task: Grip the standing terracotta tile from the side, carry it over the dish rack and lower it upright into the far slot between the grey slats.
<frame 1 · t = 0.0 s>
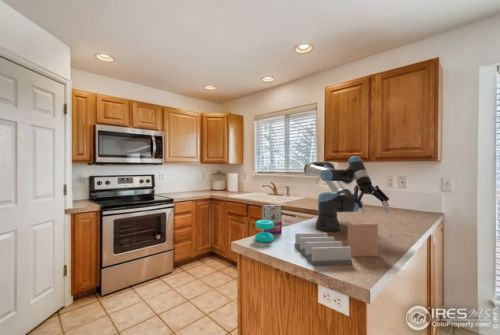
hand: (376, 213, 125), 15 cm above the table, tool tilted 35°, fingers open, 13 cm apart
terracotta tile: (362, 254, 106), on the table
candy bar box: (271, 233, 141), on the table
dish rack: (320, 254, 106), on the table
donuts: (264, 240, 126), on the table
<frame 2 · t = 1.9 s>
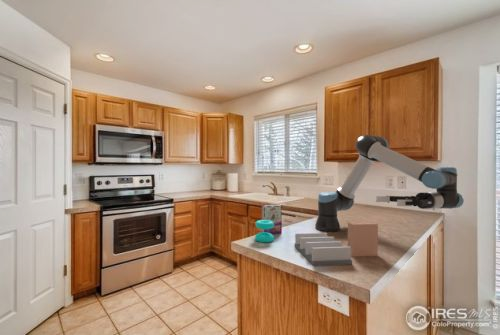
hand: (386, 200, 108), 24 cm above the table, tool horizontal, fingers open, 13 cm apart
nothing on the table moved.
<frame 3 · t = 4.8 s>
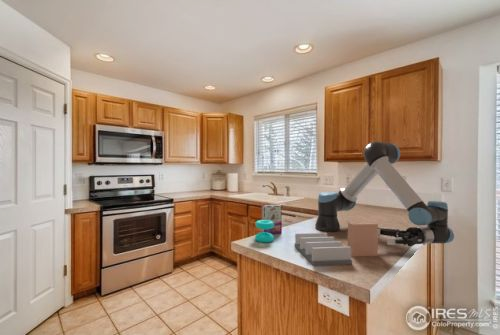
hand: (376, 236, 107), 8 cm above the table, tool horizontal, fingers open, 13 cm apart
nothing on the table moved.
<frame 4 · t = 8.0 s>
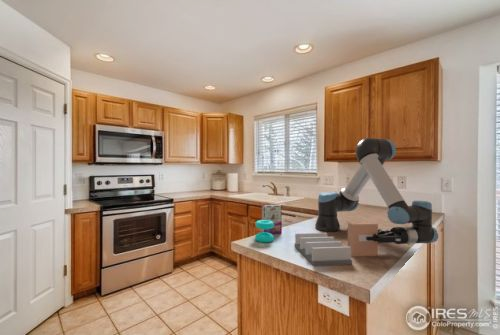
hand: (355, 236, 106), 8 cm above the table, tool horizontal, fingers closed on terracotta tile, 4 cm apart
terracotta tile: (362, 254, 106), on the table, touching gripper
everything else where it was.
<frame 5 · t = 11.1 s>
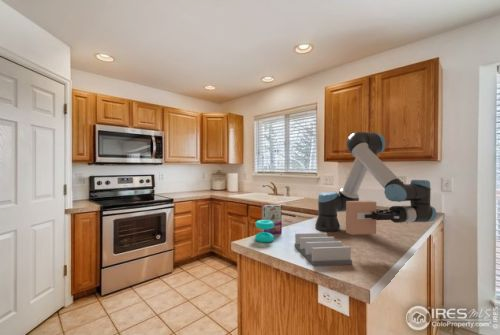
hand: (353, 214, 105), 18 cm above the table, tool horizontal, fingers closed on terracotta tile, 4 cm apart
terracotta tile: (360, 232, 105), point 10 cm above the table, touching gripper
everything else where it was.
when the fingers open (12 cm above the table, at t = 14.7 s): terracotta tile drops 2 cm, resting on dish rack.
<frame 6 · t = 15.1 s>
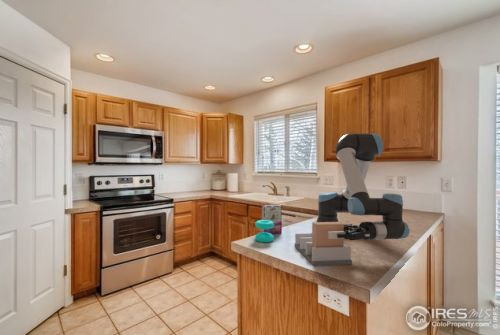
hand: (322, 231, 99), 12 cm above the table, tool horizontal, fingers open, 10 cm apart
terracotta tile: (327, 256, 99), point 1 cm above the table, touching dish rack
everything else where it was.
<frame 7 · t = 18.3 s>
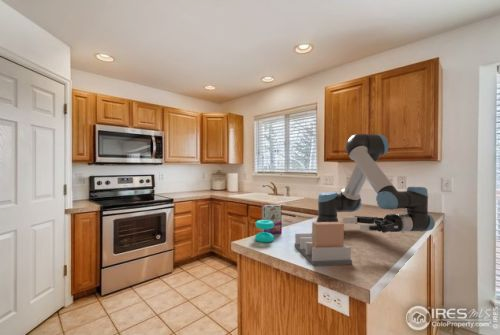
hand: (351, 223, 101), 15 cm above the table, tool horizontal, fingers open, 13 cm apart
nothing on the table moved.
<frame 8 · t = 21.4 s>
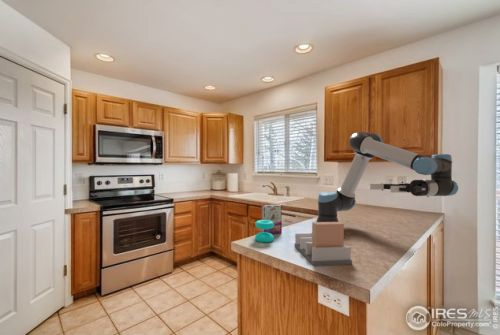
hand: (380, 187, 107), 30 cm above the table, tool horizontal, fingers open, 13 cm apart
nothing on the table moved.
at the end: terracotta tile inside the target area on the dish rack (0.0 cm from its centre), point 1.5 cm above the dish rack's base; terracotta tile tilted 0°; the gripper is holding nothing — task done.
